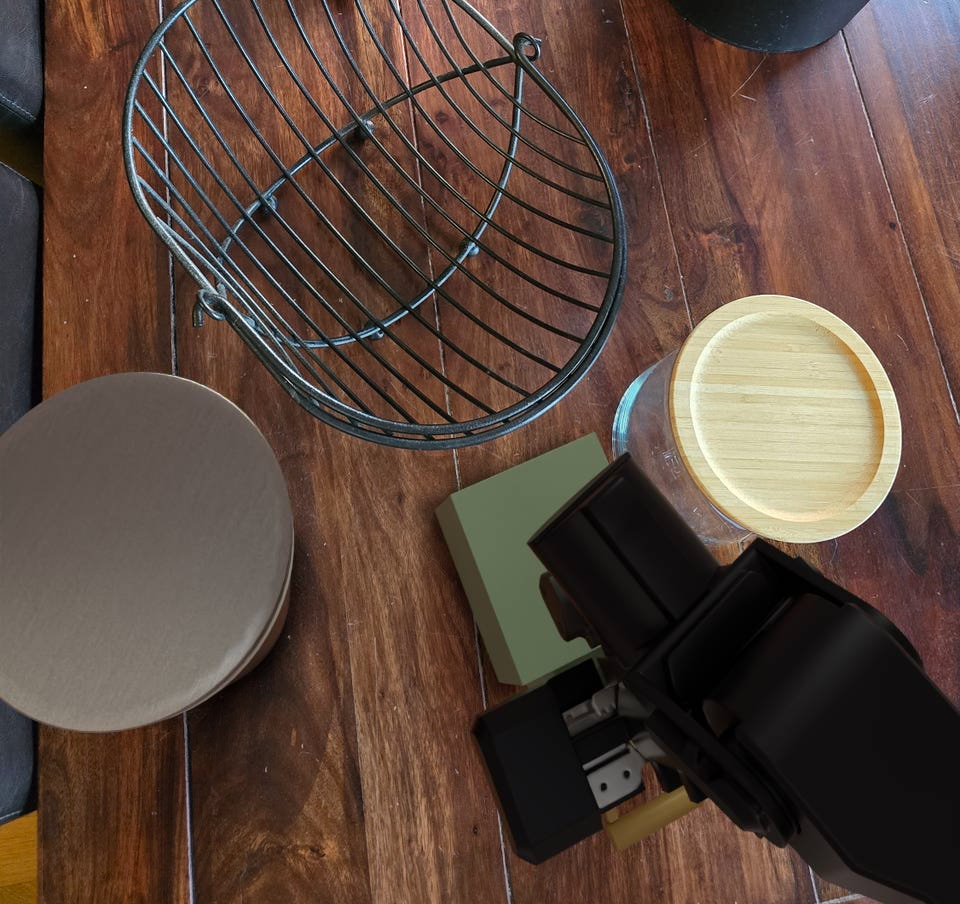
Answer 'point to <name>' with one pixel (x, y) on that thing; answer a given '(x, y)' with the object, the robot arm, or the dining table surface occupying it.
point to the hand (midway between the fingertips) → (626, 694)
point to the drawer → (649, 813)
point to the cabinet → (516, 556)
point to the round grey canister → (137, 552)
